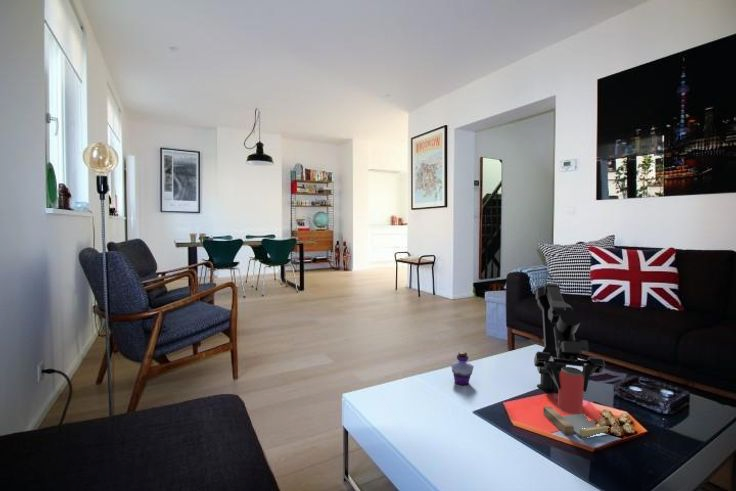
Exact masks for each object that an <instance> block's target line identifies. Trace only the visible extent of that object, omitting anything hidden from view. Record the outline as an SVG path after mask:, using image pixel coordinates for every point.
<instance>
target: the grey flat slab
mask: <svg viewBox="0 0 736 491" xmlns="http://www.w3.org/2000/svg"><path fill="white" fill-rule="evenodd" d="M584 415H586V414H584V413H579V414H570V415H568V414H567V415H561V416H562V417H563V418H564V419H566V420H567V421H568V422H569V423H570V424H571V425H572V426H574V433H575V434H574V435H576V434H577V435H578V436H580V437H581V438H587V437H590V436H593V435H596V434H600V433H603V432H605V431H606V430H607V429H608V428H610V427H609V426H606V425H603V426H599V427H595V423H596V422H597V421H596V420H595V421H592V420H594V419H593V418H591V419H592V420H591V421H588V419H587V417H589V416H588V415H587V417H586V416H584ZM586 419H587V420H586ZM582 428H583V429H582ZM584 428H585V429H584ZM577 435H576V436H577ZM578 436H577V437H578ZM580 437H579V438H580ZM581 438H580V439H581ZM587 439H588V438H587Z"/></svg>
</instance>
